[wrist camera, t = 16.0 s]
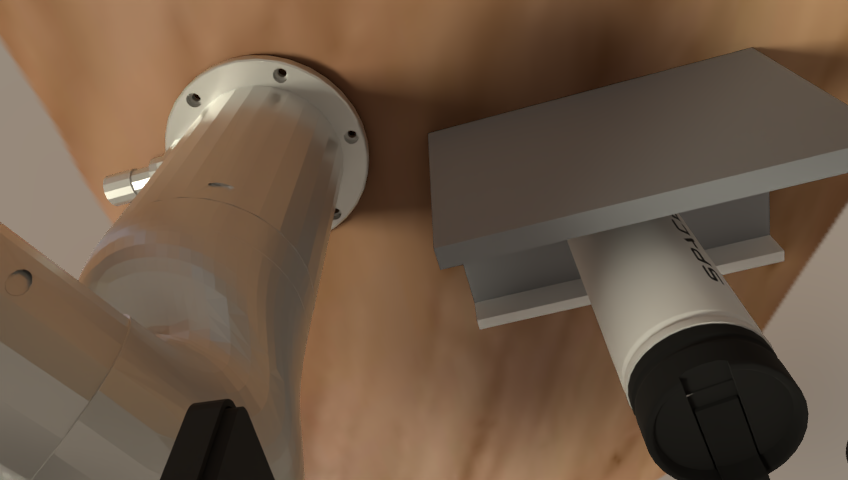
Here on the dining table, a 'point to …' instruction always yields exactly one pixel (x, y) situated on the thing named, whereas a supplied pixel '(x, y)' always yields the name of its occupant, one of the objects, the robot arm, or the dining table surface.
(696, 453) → the travel mug
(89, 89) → the dining table surface
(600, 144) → the grey bookend
